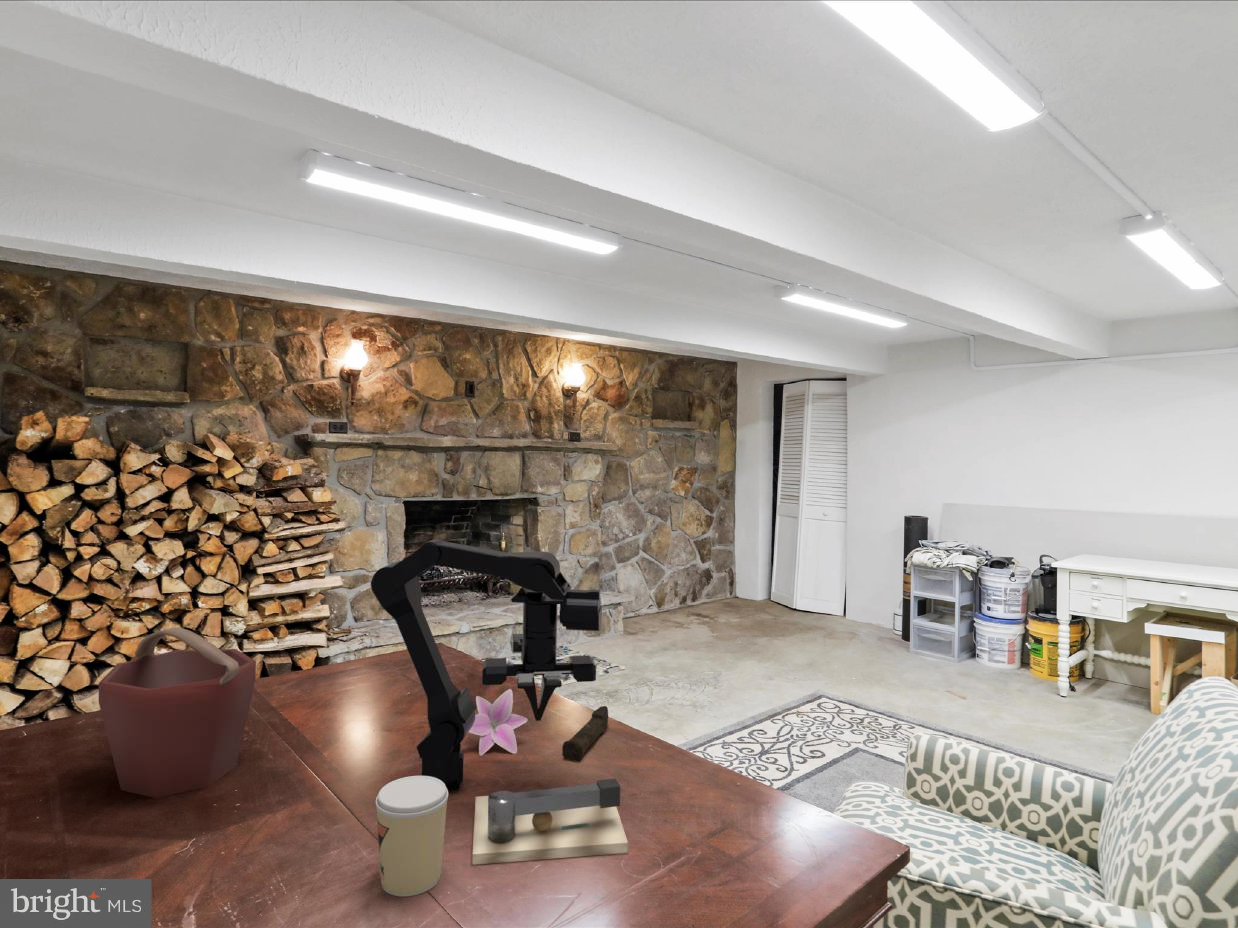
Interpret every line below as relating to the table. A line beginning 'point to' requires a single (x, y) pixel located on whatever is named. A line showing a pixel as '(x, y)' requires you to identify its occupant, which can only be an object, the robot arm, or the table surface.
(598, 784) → the lever
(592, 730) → the wooden log
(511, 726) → the lily
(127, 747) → the bucket
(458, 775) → the robot arm
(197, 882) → the table surface
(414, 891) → the lidded canister
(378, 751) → the table surface
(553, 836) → the board
